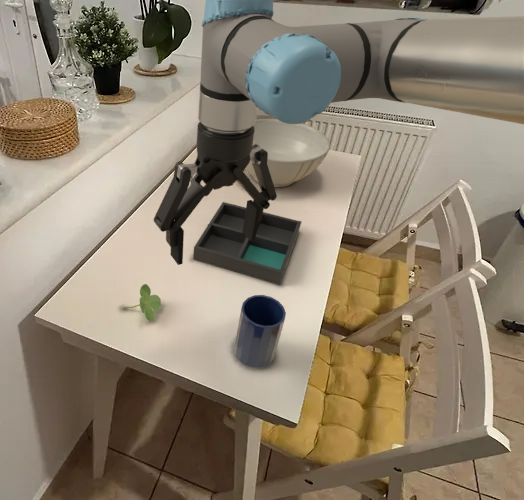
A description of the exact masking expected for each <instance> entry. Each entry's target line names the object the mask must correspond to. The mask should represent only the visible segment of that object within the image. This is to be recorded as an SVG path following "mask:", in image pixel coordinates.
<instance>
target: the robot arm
mask: <svg viewBox="0 0 524 500" xmlns="http://www.w3.org/2000/svg"><path fill="white" fill-rule="evenodd" d="M204 3H205V4H204V10H203V11H204V13H203V20H202V22H201V27H202V37H201V39H202V40H201V59H200V61H201V62H200V81H199V82H200V83H199V84H200V85H199V101H198V115H197V116H198V121H199V122H198V123H197V130H196V131H197V132H196V154H197V155H196V159H195V160H194V162H193V163H186V164H184V162H182V161H180V160H179V161H177V162H176V163H175V164H174V171H173V177H172V179H171V181H170V184H169V185H168V188H167V190H166V192H165V195H164V196H163V198H162V200H161V202H160V205H159V207H158V209H157V211H156V213H155V215H154V217H153V223H155V225H156V227H157V228H158V229H159V230H160V232H163V233H164V232H165V241H166V243H167V245H168V246H169V247H170V257H172V259H173V260H174V261H175V263H176V264H177V265H178V266H180V265H183V263H184V261H183V259H184V237H185V230H184V229H183V227H182V226H183V225H184V223H185V222H186V221H187V219H188V218H189V217H190V216H191V215H192V213H193V212H194V210H195V209H196V208H197V207H198V205H199V204H200V203H201V201H202V200H203V199H204V197H208V196H209V195H210V194H211V192H212V191H213V190H214V191H217V190H220V189H222V188H223V187H231V186H234V184H235V183H236V182H237V183H238V184H239V185H240V186H241V188H243V190H244V191H245V192H246V193H247V194H248V195H249V197H251V199H248V200H247V201H246V206H245V208H246V212H245V219H244V225H243V232H242V233H243V234H244V235H245V236H246V237H247V238H248V239H249V240H250V241H251V242H252V241H255V238H256V233H257V227H258V222H259V221H261V219H262V215H263V212H264V210H267V209H269V208H270V206H271V204H270V202H269V201H275V200H276V199H277V197H278V194H277V190H276V187H274V184H273V181H272V178H271V175H270V172H269V168H268V165H267V159H268V152H267V151H265V150H264V149H263V148H261V147H260V146H259V145H257V144H255V145H253V146H252V144H253V137H254V131H255V128H254V125H255V123H256V120H258V119H257V118H258V111H259V110H260V111H262V112H263V113H264V114H267V115H270V116H271V117H273V118H274V119H278V120H279V121H281V122H284V123H288V124H300V123H302V124H305V123H307V122H309V121H311V119H313V118H315V117H316V116H317V115H320V114H322V113H323V112H324V111H326V109H327V108H329V106H330V105H331V104H332V103H339V102H347V101H355V100H365V99H382V100H387V101H392V102H397V103H398V102H399V103H404V104H411V105H417V106H423V107H428V108H434V109H438V110H444V111H450V112H456V113H460V114H465V115H471V116H477V117H480V118H481V117H482V118H488V119H493V120H498V121H504V122H509V123H514V124H520V125H524V16H523V15H522V16H492V17H491V16H490V17H456V18H455V17H454V18H453V17H452V18H432V19H428V18H419V17H406V18H405V17H403V18H401V17H400V18H396V19H395V18H394V19H389V20H388V19H387V20H375V21H365V22H354V23H353V22H352V23H351V22H348V23H334V24H333V23H332V24H317V25H303V26H302V25H301V26H289V25H284V24H282V23H280V22H277V21H275V20H274V19H272V18H273V17H274V0H205V2H204ZM249 162H252V165H253V168H254V171H255V174H256V177H257V180H258V182H257V183H258V185H259V187H260V191H259V189H258V188H257V187H256V186H255V184H253V182H252V181H251V179H250V178H249V177H248V175H246V174H245V172H244V171H246V170H245V168H246V167H247V165H248V164H249ZM202 182H203V183H204V186H203V185H202V184H201V183H202Z"/></svg>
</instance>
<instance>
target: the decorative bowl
mask: <svg viewBox="0 0 524 500" xmlns="http://www.w3.org/2000/svg"><path fill="white" fill-rule="evenodd" d="M254 128H255V131H254V137H253V144H252V146H253V145H255V144H257V145H259V146H260V147H261V148H263V149H264V150H265V151H267V152H268V159H267V165H268V168H269V172H270V175H271V178H272V181H273V184H274V187H275V188H283V187H288V186H290V185H291V184H293V183H295V182H298V181H300V180H302V179H304V178H306V177H307V176H308V175H310V174H312V172H314V171H315V170H316V169H317V168H318V167H319V166H320V165H321V164H322V162H323V161H324V160H325V158H326V157H327V155H328V153H329V152H330V149H331V143H330V140H329V138H328V137H327V136H326V135H325V134H324V132H321V131H320V130H318V129H316V128H315V127H313V126H311V125H308V124H306V123H300V124H288V123H284V122H281V121H279V120H278V119H276V118H260V119H256V123H255V125H254ZM244 171H245V172H247V173H248V174H249V175H251V176H252V178H253V179H254V180H255V181H256V183H259V182H258V180H257V177H256V174H255V171H254V168H253V165H252V162H249V164H248V165H247V167H246V168H245V170H244Z"/></svg>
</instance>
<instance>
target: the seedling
mask: <svg viewBox="0 0 524 500" xmlns="http://www.w3.org/2000/svg"><path fill="white" fill-rule="evenodd" d="M151 293H152V291H151V288H150V286H149V285H148V284H147V283H145V284H142V286H140V289H139V295H140V298H139V304H136V305H132V306H126V307H122V309H123V310H125V309H133V308H136V307H140V310H141V313H142V314H144V317H145V319H146V320H147V321H148V322H153V321H155V319H156V315H155V312H156V313H158V312H160V309H161V307H162V301H161V298H160V296H159V295H158V294H151Z"/></svg>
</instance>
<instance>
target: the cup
mask: <svg viewBox="0 0 524 500" xmlns="http://www.w3.org/2000/svg"><path fill="white" fill-rule="evenodd" d="M286 314H287V313H286V310H285V306H284V305H283V304H282V303H281V302H280V301H279V300H278V299H276V298H274V297H272V296H269V295H266V294H255V295H251V296H248V297H247V298H246V299H245V300H244V301H243V302H242V305H241V308H240V314H239V320H238V325H237V331H236V337H235V342H234V353H235V356H236V358H237V359H238V361H239V362H240V363H242V364H243V365H245V366H247V367H250V368H254V369H261V368H262V369H263V368H266V367H268V366H269V365H270V364H271V363H272V362H273V360H274V359H275V356H276V353H277V349H278V346H279V342H280V338H281V334H282V332H283V328H284V324H285V320H286V316H287V315H286Z"/></svg>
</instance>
